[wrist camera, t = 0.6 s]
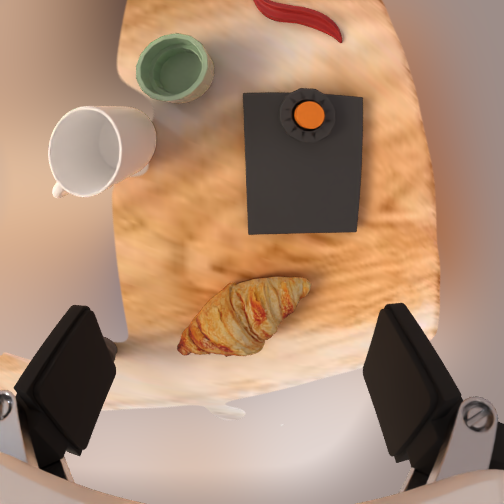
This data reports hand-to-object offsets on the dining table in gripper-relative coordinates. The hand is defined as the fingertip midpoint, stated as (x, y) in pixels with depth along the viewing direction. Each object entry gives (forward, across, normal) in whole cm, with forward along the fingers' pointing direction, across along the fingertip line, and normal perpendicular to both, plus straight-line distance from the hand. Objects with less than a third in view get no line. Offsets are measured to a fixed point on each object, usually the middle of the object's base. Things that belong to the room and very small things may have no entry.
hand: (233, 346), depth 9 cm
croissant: (+27, +1, +18) cm, 32 cm away
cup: (+26, +16, -4) cm, 31 cm away
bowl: (+26, +7, -13) cm, 30 cm away
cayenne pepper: (+26, -6, -20) cm, 33 cm away
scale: (+26, -6, -2) cm, 27 cm away
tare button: (+24, -6, -7) cm, 26 cm away
